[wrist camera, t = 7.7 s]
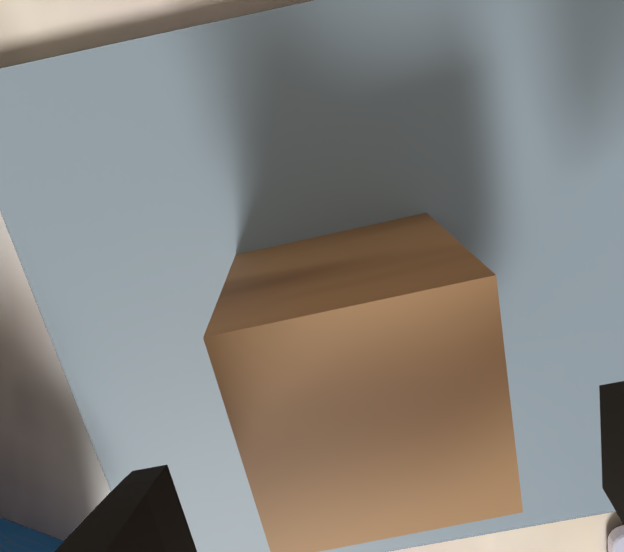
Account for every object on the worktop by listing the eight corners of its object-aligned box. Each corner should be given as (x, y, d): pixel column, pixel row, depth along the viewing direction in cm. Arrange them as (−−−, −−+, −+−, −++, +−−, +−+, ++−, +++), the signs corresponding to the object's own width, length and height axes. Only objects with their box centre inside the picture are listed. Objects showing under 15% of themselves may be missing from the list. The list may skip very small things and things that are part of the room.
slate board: (633, 493, 17) (644, 506, 17) (155, 577, 18) (151, 593, 17) (630, -65, 12) (647, -74, 12) (-37, 80, 13) (-52, 79, 12)
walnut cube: (452, 381, 15) (522, 512, 10) (280, 417, 15) (273, 560, 11) (426, 212, 14) (496, 274, 9) (235, 254, 14) (202, 338, 9)
